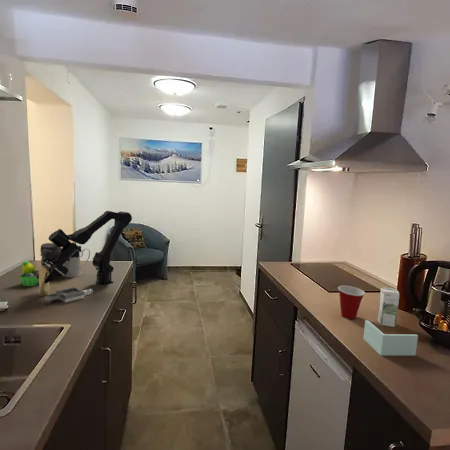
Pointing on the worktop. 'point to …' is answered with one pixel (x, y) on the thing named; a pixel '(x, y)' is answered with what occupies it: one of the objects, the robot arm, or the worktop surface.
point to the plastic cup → (350, 301)
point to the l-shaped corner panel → (390, 341)
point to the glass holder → (74, 264)
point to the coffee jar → (50, 247)
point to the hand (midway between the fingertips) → (40, 280)
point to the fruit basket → (29, 274)
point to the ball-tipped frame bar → (68, 295)
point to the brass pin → (42, 276)
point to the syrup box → (388, 307)
